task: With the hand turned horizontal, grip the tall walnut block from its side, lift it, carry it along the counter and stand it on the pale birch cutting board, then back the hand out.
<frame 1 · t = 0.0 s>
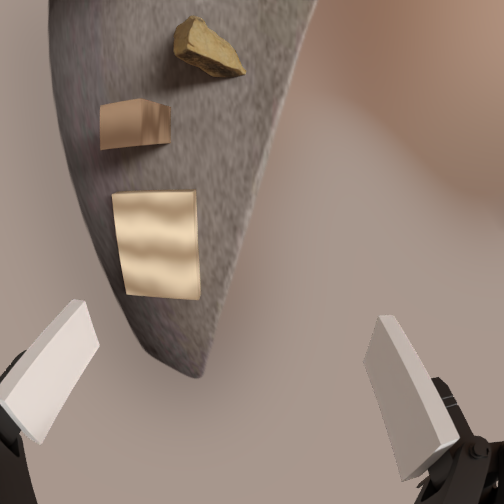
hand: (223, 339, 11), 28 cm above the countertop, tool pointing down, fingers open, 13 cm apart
rock: (213, 47, 30), on the countertop
walnut block: (153, 126, 34), on the countertop
cutting board: (159, 243, 40), on the countertop
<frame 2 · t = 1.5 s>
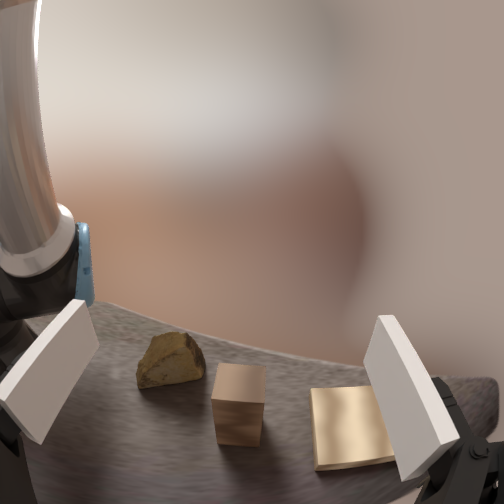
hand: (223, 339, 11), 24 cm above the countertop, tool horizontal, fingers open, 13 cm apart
rock: (171, 376, 38), on the countertop
walnut block: (240, 429, 30), on the countertop
cutting board: (370, 426, 29), on the countertop
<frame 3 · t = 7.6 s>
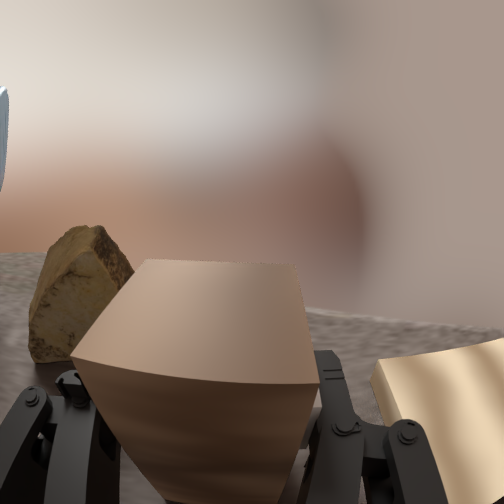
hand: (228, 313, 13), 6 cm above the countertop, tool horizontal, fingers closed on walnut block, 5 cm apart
rock: (95, 346, 19), on the countertop
walnut block: (222, 466, 11), on the countertop, touching gripper
cutting board: (489, 421, 10), on the countertop
when the fingers open (9 cm above the countertop, at t = 14.3 s): walnut block drops 1 cm, resting on cutting board.
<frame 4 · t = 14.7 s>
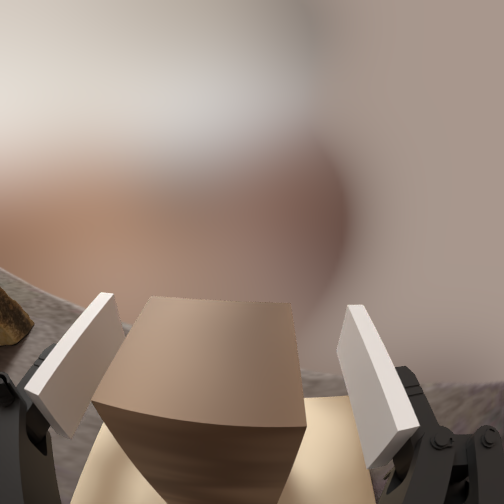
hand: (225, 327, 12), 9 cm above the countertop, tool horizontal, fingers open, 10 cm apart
walnut block: (224, 476, 11), point 2 cm above the countertop, touching cutting board
cutting board: (226, 485, 12), on the countertop
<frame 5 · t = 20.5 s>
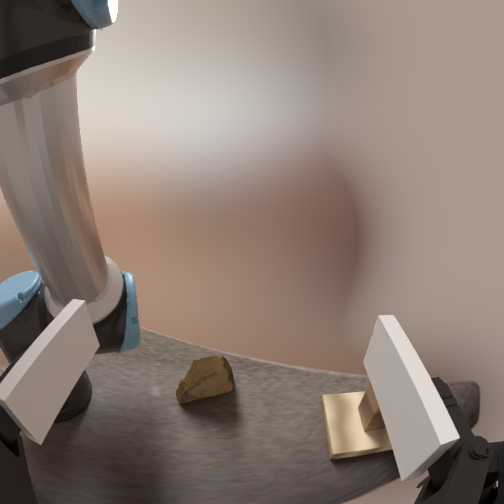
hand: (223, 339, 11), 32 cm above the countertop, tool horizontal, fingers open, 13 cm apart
rock: (205, 391, 45), on the countertop
walnut block: (374, 417, 36), point 2 cm above the countertop, touching cutting board
cutting board: (370, 423, 37), on the countertop
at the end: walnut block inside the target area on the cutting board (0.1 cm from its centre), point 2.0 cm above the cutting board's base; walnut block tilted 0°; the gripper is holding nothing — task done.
